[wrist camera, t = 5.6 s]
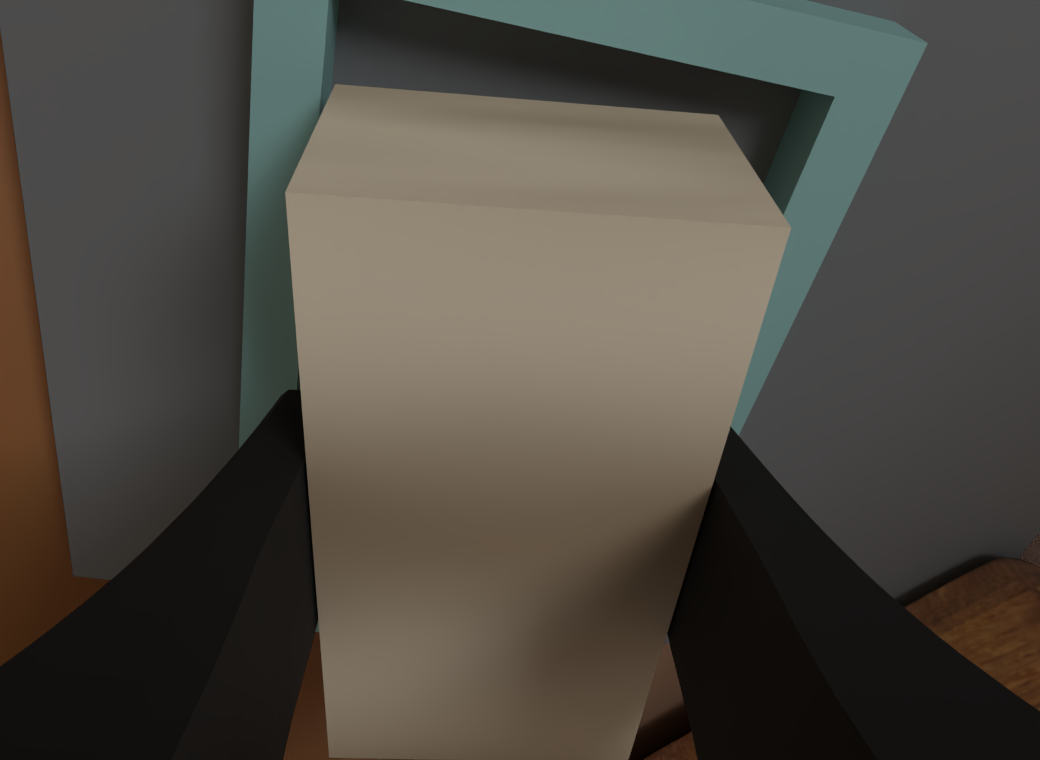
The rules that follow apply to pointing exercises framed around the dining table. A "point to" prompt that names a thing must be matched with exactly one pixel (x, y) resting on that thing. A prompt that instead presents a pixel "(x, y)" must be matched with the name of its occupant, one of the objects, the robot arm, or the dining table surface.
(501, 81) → the rubber mat
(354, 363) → the beige block
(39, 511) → the dining table surface
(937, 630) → the wooden box
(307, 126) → the teal frame
